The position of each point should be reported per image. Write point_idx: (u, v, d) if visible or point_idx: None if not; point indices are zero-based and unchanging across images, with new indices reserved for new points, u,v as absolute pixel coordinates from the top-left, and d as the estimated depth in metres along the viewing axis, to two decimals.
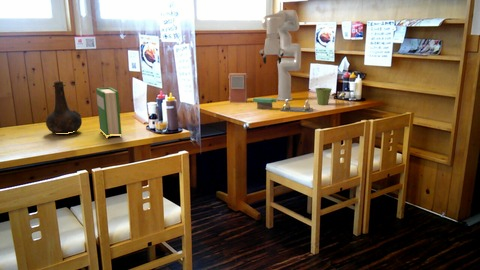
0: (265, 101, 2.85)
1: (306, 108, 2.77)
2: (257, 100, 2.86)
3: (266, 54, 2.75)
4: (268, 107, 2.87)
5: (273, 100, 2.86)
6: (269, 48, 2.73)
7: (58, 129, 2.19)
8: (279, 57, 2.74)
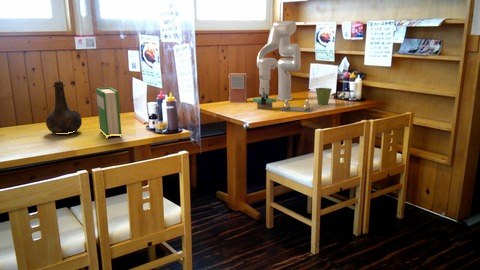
0: None
1: (306, 108, 2.77)
2: (257, 100, 2.86)
3: (265, 95, 2.84)
4: (268, 107, 2.87)
5: (273, 100, 2.86)
6: (267, 89, 2.84)
7: (58, 129, 2.19)
8: (267, 96, 2.91)
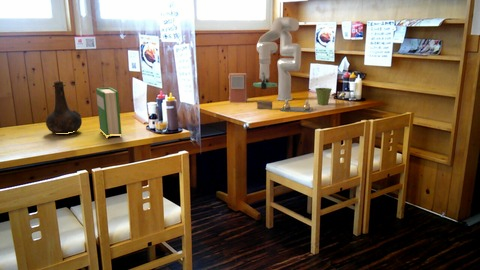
0: None
1: (306, 108, 2.77)
2: (257, 85, 2.84)
3: (266, 79, 2.82)
4: (268, 107, 2.87)
5: (273, 84, 2.83)
6: (267, 73, 2.82)
7: (58, 129, 2.19)
8: (267, 81, 2.89)
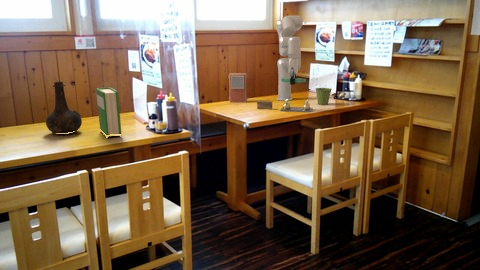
0: None
1: (306, 108, 2.77)
2: (286, 80, 2.77)
3: (295, 74, 2.75)
4: (268, 107, 2.87)
5: (302, 80, 2.76)
6: (296, 68, 2.75)
7: (58, 129, 2.19)
8: None
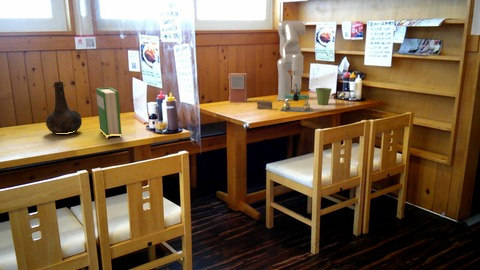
0: (298, 97, 2.78)
1: (306, 108, 2.77)
2: (289, 96, 2.79)
3: (298, 91, 2.77)
4: (268, 107, 2.87)
5: (306, 96, 2.78)
6: (300, 85, 2.77)
7: (58, 129, 2.19)
8: (299, 93, 2.84)
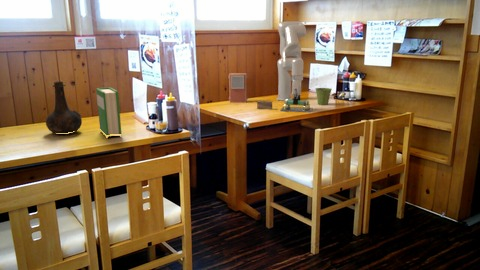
0: None
1: (306, 108, 2.77)
2: (289, 103, 2.80)
3: (298, 95, 2.77)
4: (268, 107, 2.87)
5: (305, 103, 2.80)
6: (299, 89, 2.78)
7: (58, 129, 2.19)
8: (299, 96, 2.86)
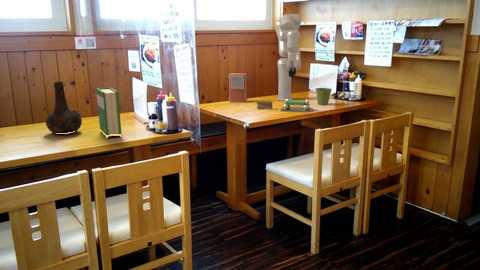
0: (297, 104, 2.79)
1: (306, 108, 2.77)
2: (289, 103, 2.80)
3: (293, 67, 2.80)
4: (268, 107, 2.87)
5: (305, 103, 2.80)
6: (295, 61, 2.80)
7: (58, 129, 2.19)
8: None
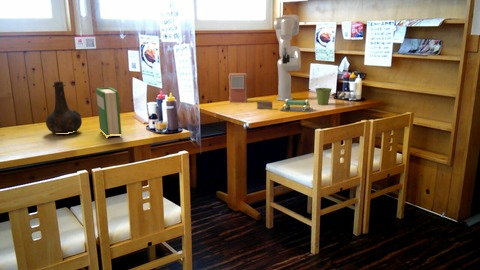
0: (297, 104, 2.79)
1: (306, 108, 2.77)
2: (289, 103, 2.80)
3: (287, 54, 2.86)
4: (268, 107, 2.87)
5: (305, 103, 2.80)
6: (288, 49, 2.87)
7: (58, 129, 2.19)
8: (288, 56, 2.94)
